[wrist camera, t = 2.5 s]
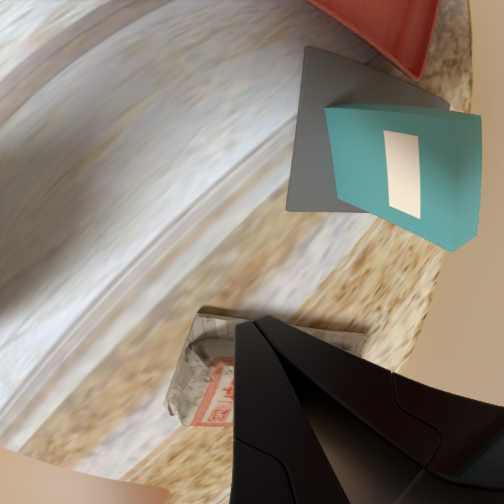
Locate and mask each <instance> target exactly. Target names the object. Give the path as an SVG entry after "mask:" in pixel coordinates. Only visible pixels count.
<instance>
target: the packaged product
mask: <svg viewBox="0 0 504 504" xmlns="http://www.w3.org/2000/svg"><path fill="white" fill-rule="evenodd" d="M244 321H247V320H246V319H240V318H233V317H226V316H220V315H213V314H204V313H198V312H197V314H196V316H195V319H194V321H193V324H192V326H191V329H190V331H189V334H188V337H187V339H186V342H185V345H184V347H183V350H182V352H181V355H180V358H179V360H178V363H177V367H176V370H175V373H174V375H173V378H172V380H171V383H170V386H169V389H168V392H167V395H166V398H165V401H164V404H163V405H164V407H165V408H166V410H167V411H168V413H169V414H170V416H173V415H176V414H178V416H179V419H180V420H181V423H182V425H185V426H204V427H207V426H209V427H220V426H224V427H225V426H233V386H234V326H235V324H237V323H241V322H244ZM251 321H252V320H251ZM292 326H294V327H296V328H298V329H300V330H302V331H304V332H306V333H309V334H311V335H313V336H315V337H317V338H319V339H321V340H323V341H326V342H328V343H330V344H332V345H334V346H336V347H339V348H341V349H343V350H345V351H347V352H349V353H352V354H354V355H356V356H358V357H361V355H359V354H360V352H361V350H362V349H363V347H364V346H363V343H364V342H365V340H366V339H367V338H369V337H368V336H367V335H365V334H364V333H357V332H344V331H331V330H330V331H329V330H322V329H315V328H308V327H300V326H295V325H292ZM361 358H362V357H361Z"/></svg>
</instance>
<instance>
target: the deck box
mask: <svg viewBox="0 0 504 504" xmlns="http://www.w3.org/2000/svg"><path fill="white" fill-rule="evenodd" d="M324 109H325V115H326V121H327V127H328V133H329V139H330V145H331V152H332V159H333V166H334V173H335V180H336V188H337V196H338V199H340V200H342V201H345V202H347V203H349V204H351V205H354V206H356V207H358V208H360V209H363V210H365V211H367V212H369V213H371V214H374V215H376V216H378V217H380V218H382V219H384V220H387V221H389V222H391V223H393V224H395V225H397V226H399V227H401V228H403V229H406V230H408V231H410V232H412V233H414V234H416V235H418V236H420V237H422V238H424V239H426V240H428V241H430V242H432V243H434V244H436V245H438V246H440V247H442V248H443V249H445V250H447V251H449V252H451V253H452V252H454V251H455V250H456V249H458V248H460V247H461V246H462V245H464V244H465V243H467V242H468V241H469V240H471V239H472V238H474V237H475V236H477V229H478V220H479V209H480V195H481V177H482V130H481V129H482V127H481V116H479V115H474V114H468V113H462V112H455V111H448V110H441V109H433V108H425V107H416V106H405V105H394V104H379V103H360V102H353V103H347V104H341V105H336V106H330V107H325V108H324Z"/></svg>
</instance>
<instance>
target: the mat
mask: <svg viewBox="0 0 504 504" xmlns="http://www.w3.org/2000/svg"><path fill="white" fill-rule="evenodd" d="M353 102H360V103H379V104H394V105H405V106H416V107H425V108H433V109H441V110H448V111H449V108H450V104H449V103H447V102H446V101H444V100H442V99H440V98H438V97H436V96H434V95H432V94H430V93H428V92H426V91H424V90H422V89H420V88H418V87H415V86H413V85H411V84H409V83H407V82H404V81H402V80H400V79H398V78H395V77H393V76H391V75H388V74H386V73H383V72H381V71H378V70H376V69H373V68H371V67H368V66H366V65H363V64H360V63H357V62H355V61H352V60H349V59H346V58H343V57H340V56H337V55H334V54H331V53H328V52H325V51H322V50H318V49H315V48H312V47H305V55H304V64H303V74H302V83H301V91H300V100H299V109H298V117H297V125H296V134H295V142H294V150H293V157H292V165H291V173H290V180H289V188H288V195H287V203H286V210H287V211H288V212H352V213H369V212H367V211H365V210H363V209H360V208H358V207H356V206H354V205H351V204H349V203H347V202H345V201H342V200H340V199H338V196H337V188H336V180H335V173H334V166H333V159H332V152H331V145H330V139H329V133H328V127H327V121H326V115H325V109H324V108H325V107H330V106H336V105H341V104H347V103H353Z"/></svg>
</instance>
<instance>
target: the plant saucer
mask: <svg viewBox="0 0 504 504" xmlns="http://www.w3.org/2000/svg"><path fill="white" fill-rule="evenodd" d="M304 1H305V2H307V3H309V4H310V5H312V6H313V7H315V8H317V9H318V10H320V11H321V12H323V13H325V14H326V15H328V16H329V17H331V18H332V19H334V20H335V21H336V22H338V23H339V24H341V25H342V26H344V27H345V28H347V29H348V30H349V31H351V32H352V33H354V34H355V35H356V36H358V37H359V38H360V39H362V40H363V41H364V42H366V43H367V44H368V45H369V46H371V47H372V48H373V49H375V50H376V51H377V52H378V53H380V54H381V55H382V56H383V57H384V58H386V59H387V60H388V61H389V62H391V63H392V64H393V65H394V66H395V67H396V68H398V69H399V70H400V71H402V72H403V73H404V74H405V75H407V76H408V77H409V78H411V79H412V80H414V81H417V82H418V81H420V80H421V79H422V77H423V74H424V70H425V67H426V63H427V59H428V55H429V51H430V48H431V43H432V39H433V34H434V30H435V26H436V21H437V16H438V11H439V7H440V1H441V0H304Z"/></svg>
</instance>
